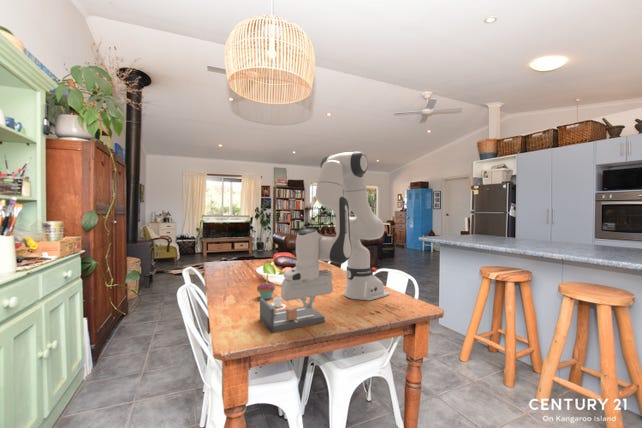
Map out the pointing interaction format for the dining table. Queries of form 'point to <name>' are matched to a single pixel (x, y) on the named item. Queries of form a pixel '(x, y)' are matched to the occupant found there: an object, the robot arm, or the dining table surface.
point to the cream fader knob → (273, 307)
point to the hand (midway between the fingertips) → (307, 308)
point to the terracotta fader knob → (291, 313)
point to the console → (280, 320)
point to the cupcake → (266, 289)
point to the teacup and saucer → (278, 303)
